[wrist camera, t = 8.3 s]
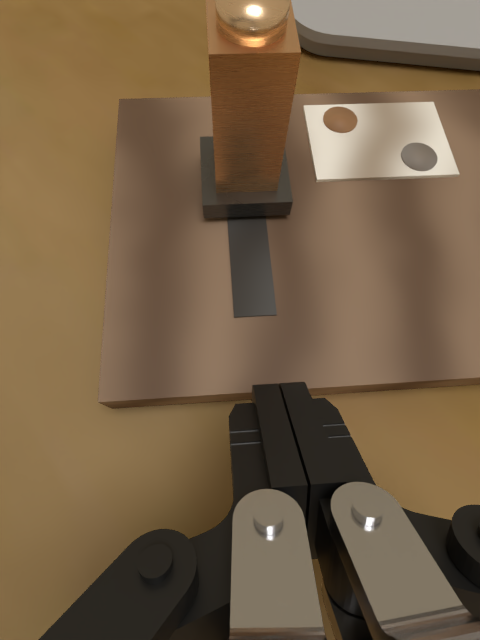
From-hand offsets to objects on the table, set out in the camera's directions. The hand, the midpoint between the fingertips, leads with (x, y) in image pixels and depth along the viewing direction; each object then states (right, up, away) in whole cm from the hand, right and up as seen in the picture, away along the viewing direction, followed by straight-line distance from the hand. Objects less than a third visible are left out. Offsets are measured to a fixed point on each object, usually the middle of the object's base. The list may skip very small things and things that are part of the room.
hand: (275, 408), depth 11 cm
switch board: (+7, +8, +11) cm, 15 cm away
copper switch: (-1, +10, +9) cm, 13 cm away
